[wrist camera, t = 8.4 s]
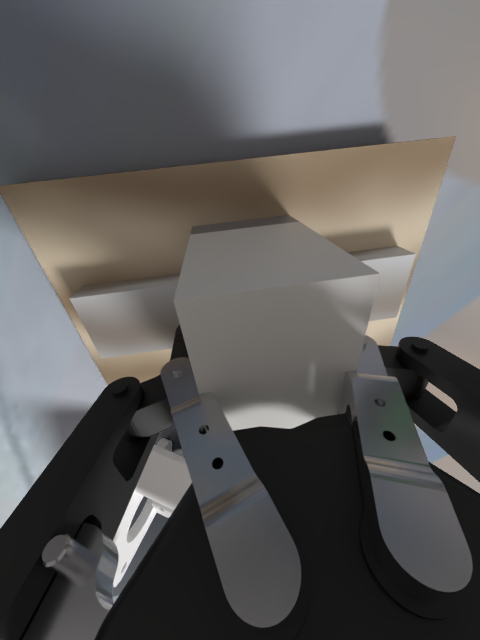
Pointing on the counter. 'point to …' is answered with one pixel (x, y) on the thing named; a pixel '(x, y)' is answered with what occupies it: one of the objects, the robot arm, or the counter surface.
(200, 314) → the block
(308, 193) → the rail board
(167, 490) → the mounting bracket
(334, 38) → the counter surface
